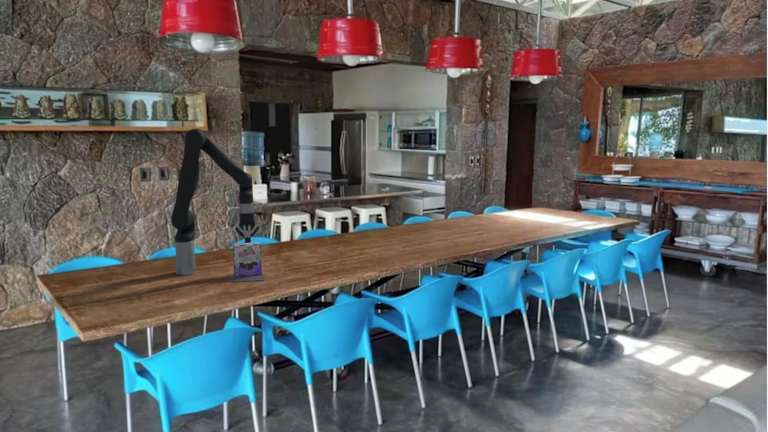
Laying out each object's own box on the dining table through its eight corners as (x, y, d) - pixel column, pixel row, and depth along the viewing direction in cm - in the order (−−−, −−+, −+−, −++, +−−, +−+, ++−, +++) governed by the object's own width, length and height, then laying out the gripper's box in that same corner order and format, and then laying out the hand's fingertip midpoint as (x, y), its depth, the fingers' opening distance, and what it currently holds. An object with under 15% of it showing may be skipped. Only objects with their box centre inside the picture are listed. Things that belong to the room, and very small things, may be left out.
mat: (226, 282, 262) (226, 281, 262) (228, 277, 271) (228, 277, 271) (264, 280, 265) (264, 280, 265) (265, 276, 273) (265, 275, 273)
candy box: (234, 277, 272) (232, 245, 269) (234, 274, 277) (232, 243, 275) (262, 275, 276) (260, 243, 273) (261, 272, 281) (260, 241, 278)
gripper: (232, 213, 273) (234, 246, 276) (259, 212, 275) (260, 245, 278) (234, 210, 281) (235, 243, 283) (260, 210, 283) (261, 242, 285)
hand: (248, 244), depth 281 cm, fingers closed
